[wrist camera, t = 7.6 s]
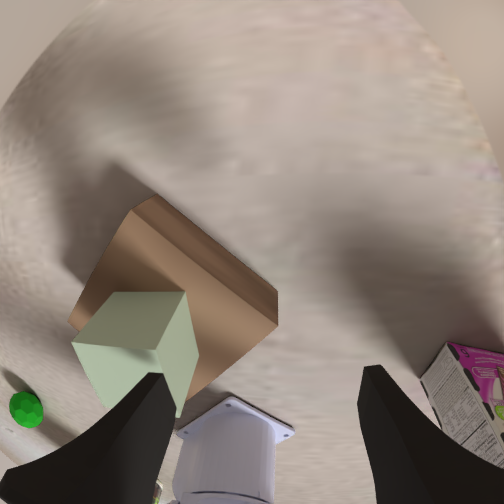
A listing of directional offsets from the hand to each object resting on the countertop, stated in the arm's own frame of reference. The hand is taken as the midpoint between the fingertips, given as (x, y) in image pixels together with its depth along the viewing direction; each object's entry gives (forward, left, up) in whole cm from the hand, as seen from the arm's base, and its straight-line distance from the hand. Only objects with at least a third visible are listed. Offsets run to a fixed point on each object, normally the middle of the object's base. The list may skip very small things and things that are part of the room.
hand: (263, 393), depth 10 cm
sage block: (-6, +4, -7) cm, 9 cm away
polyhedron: (-35, +10, -11) cm, 38 cm away
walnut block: (-6, +3, -11) cm, 12 cm away
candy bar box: (+5, -22, -11) cm, 25 cm away
